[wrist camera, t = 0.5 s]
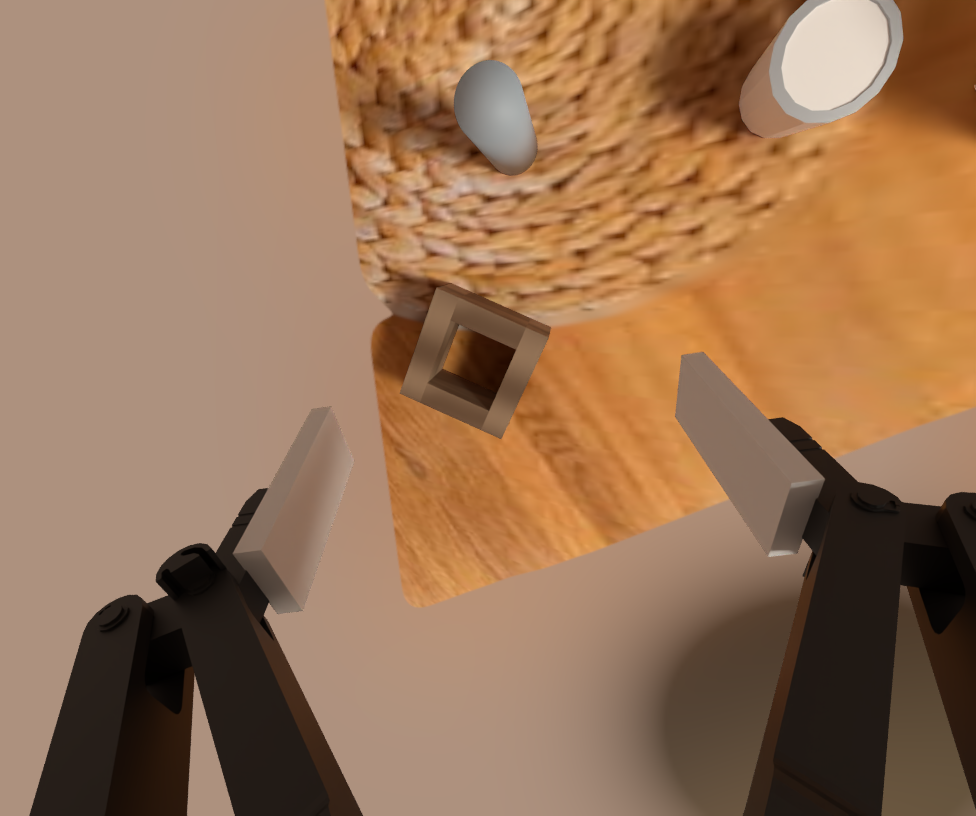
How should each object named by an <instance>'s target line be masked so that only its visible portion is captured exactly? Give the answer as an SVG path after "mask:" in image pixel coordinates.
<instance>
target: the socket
mask: <svg viewBox="0 0 976 816" xmlns="http://www.w3.org/2000/svg"><path fill="white" fill-rule="evenodd" d="M459 324H460V325H462V326H464V327H466V328H469V329H471V330H473V331H475V332H478V333H480V334H482V335H484V336H487V337H489V338H491V339H493V340H496V341H498V342H500V343H502V344H505V345H507V346H509V347H511V348H514V349H516V352H515V354H514V356H513V359H512V361H511V363H510V365H509V368H508V370H507V372H506V374H505V377H504V379H503V381H502V383H501V386H500V388H499V390H498V392H497V393H495V392H493V391H490V390H488V389H486V388H484V387H482V386H479V385H477V384H475V383H473V382H470V381H468V380H466V379H464V378H461V377H459V376H457V375H455V374H453V373H450V372H448V371H446V370H444V369H442V368H443V365H444V363H445V360H446V358H447V355H448V352H449V350H450V347H451V344H452V342H453V339H454V336H455V334H456V331H457V329H458V326H459ZM550 330H551V327H549V326H547V325H544V324H542V323H540V322H538V321H535V320H533V319H531V318H529V317H526V316H524V315H522V314H520V313H517V312H515V311H513V310H511V309H508V308H506V307H504V306H502V305H499V304H497V303H495V302H493V301H490V300H488V299H486V298H484V297H481V296H479V295H477V294H475V293H472V292H470V291H468V290H465V289H463V288H461V287H459V286H456V285H454V284H452V283H451V284H447V285H444V286H441V287H437V288H436V290H435V293H434V296H433V299H432V302H431V305H430V308H429V311H428V314H427V316H426V319H425V322H424V325H423V328H422V331H421V334H420V337H419V339H418V342H417V345H416V348H415V351H414V354H413V357H412V360H411V363H410V365H409V368H408V371H407V374H406V377H405V380H404V383H403V386H402V388H401V391H400V394H402V395H404V396H407V397H409V398H411V399H413V400H415V401H418V402H420V403H422V404H424V405H427V406H429V407H431V408H433V409H435V410H438V411H440V412H442V413H444V414H447V415H449V416H451V417H453V418H455V419H458V420H460V421H462V422H464V423H467V424H469V425H471V426H473V427H475V428H478V429H480V430H482V431H484V432H487V433H489V434H491V435H493V436H495V437H498V438H500V439H502V436H503V434H504V432H505V430H506V428H507V426H508V424H509V421H510V419H511V417H512V415H513V413H514V411H515V409H516V407H517V404H518V402H519V400H520V398H521V396H522V394H523V392H524V389H525V387H526V385H527V383H528V381H529V379H530V377H531V374H532V372H533V370H534V368H535V366H536V364H537V362H538V360H539V357H540V355H541V353H542V351H543V349H544V347H545V345H546V342H547V340H548V338H549V334H550Z"/></svg>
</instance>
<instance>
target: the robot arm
mask: <svg viewBox="0 0 976 816" xmlns="http://www.w3.org/2000/svg"><path fill="white" fill-rule="evenodd" d="M675 417H676V419H677V420H678V422H679V423H680V425H681V426H682V428H683V429H684V431H685V432H686V434H687V435H688V437H689V438H690V440H691V441H692V443H693V444H694V446H695V447H696V449H697V450H698V452H699V453H700V455H701V456H702V458H703V459H704V461H705V462H706V464H707V465H708V467H709V468H710V470H711V471H712V473H713V474H714V476H715V477H716V479H717V480H718V482H719V483H720V485H721V486H722V488H723V489H724V491H725V492H726V494H727V495H728V497H729V499H730V500H731V501H732V503H733V505H734V506H735V508H736V509H737V511H738V512H739V513H740V515H741V517H742V518H743V520H744V521H745V523H746V524H747V526H748V527H749V529H750V530H751V532H752V533H753V535H754V536H755V538H756V539H757V541H758V542H759V544H760V545H761V547H762V548H763V550H764V551H765V553H766V554H767V556H768V557H770V556H779V555H787V554H797V553H798V550H799V548H800V545H801V542H802V539H804V541H805V542H806V543H807V544H808V546H809V547H810V548H811V549H812V553H811V556H810V559H809V561H808V563H807V566H806V568H805V571H804V573H803V576H804V577H805V578H804V582H803V586H802V590H801V593H800V597H799V601H798V605H797V609H796V613H795V617H794V621H793V625H792V628H791V632H790V636H789V640H788V644H787V648H786V652H785V656H784V659H783V663H782V667H781V671H780V675H779V679H778V683H777V687H776V690H775V694H774V698H773V702H772V706H771V710H770V714H769V718H768V722H767V726H766V729H765V733H764V737H763V741H762V745H761V749H760V753H759V757H758V761H757V764H756V768H755V772H754V776H753V780H752V784H751V787H750V791H749V796H748V799H747V803H746V807H745V810H744V813H743V816H881V812H882V800H883V788H884V775H885V764H886V750H887V739H888V728H889V714H890V703H891V691H892V679H893V667H894V654H895V643H896V631H897V619H898V618H897V617H898V607H899V595H900V585H904V586H907V589H908V592H909V595H910V598H911V601H912V605H913V608H914V611H915V614H916V618H917V621H918V624H919V627H920V630H921V634H922V637H923V640H924V643H925V646H926V650H927V653H928V656H929V660H930V663H931V666H932V669H933V673H934V676H935V679H936V682H937V686H938V689H939V692H940V695H941V698H942V702H943V705H944V708H945V711H946V714H947V718H948V721H949V724H950V727H951V731H952V734H953V737H954V741H955V743H956V747H957V750H958V753H959V757H960V760H961V763H962V766H963V770H964V773H965V776H966V779H967V782H968V786H969V789H970V792H971V795H972V799H973V802H974V805H975V808H976V493H967V492H960V493H955V494H951V495H950V496H949V497H948V498H947V499H946V500H945V501H944V503H943V505H942V506H941V507H940V506H931V505H922V504H912V503H904V502H901V501H900V500H899V498H898V497H896V496H895V495H893V494H892V493H890V492H889V491H887V490H885V489H883V488H880V487H877V486H875V485H871V484H866V483H860V482H857V481H856V480H855V479H854V478H853V477H852V476H851V475H850V474H849V473H848V472H847V471H846V470H845V469H844V468H843V467H842V466H841V465H840V464H839V463H838V462H836V460H835V459H834V458H833V457H831V456H830V455H829V454H828V453H827V452H826V451H825V450H822V447H821V446H820V445H819V444H818V443H817V442H816V441H815V440H812V437H811V436H810V435H809V434H808V433H807V432H805V431H804V430H803V429H802V428H801V427H800V426H798V425H796V424H795V423H793V422H791V421H789V420H787V419H785V418H783V417H782V418H775V419H767V418H766V417H765V416H764V415H763V414H762V413H761V412H760V411H759V410H758V409H757V408H756V406H755V405H754V404H753V403H752V402H751V401H750V400H749V399H748V398H747V397H746V396H745V395H744V394H743V393H742V392H741V391H740V390H739V389H738V388H737V387H736V386H735V385H734V384H733V383H732V381H731V380H730V379H729V378H728V377H727V376H726V375H725V374H724V373H723V372H722V371H721V370H720V369H719V368H718V367H717V366H716V365H715V364H714V363H713V362H712V361H711V360H710V359H709V358H708V356H707V355H706V354H705V353H704V352H699V353H692V354H686V355H682V356H681V366H680V375H679V385H678V395H677V404H676V414H675ZM353 463H354V459H353V457H352V454H351V452H350V449H349V447H348V445H347V442H346V440H345V438H344V435H343V433H342V431H341V428H340V426H339V424H338V421H337V419H336V416H335V414H334V412H333V409H332V407H331V406H329V407H323V408H317V409H312V410H311V412H310V413H309V415H308V417H307V419H306V421H305V422H304V424H303V426H302V428H301V430H300V431H299V433H298V435H297V437H296V439H295V441H294V442H293V444H292V447H291V448H290V450H289V452H288V453H287V455H286V457H285V459H284V461H283V463H282V464H281V466H280V468H279V470H278V472H277V474H276V475H275V477H274V479H273V481H272V483H271V485H270V487H269V488H265V489H259V490H257V491H256V492H255V493H254V494H253V495H252V496H251V497H250V498H249V499H248V500H247V501H246V502H245V504H244V506H243V507H242V509H241V511H240V512H239V514H238V515H239V516H238V517H237V518H236V519H235V521H234V523H233V524H232V528H230V529H229V531H228V533H227V535H226V536H225V538H224V540H223V541H222V543H221V545H220V547H219V548H218V550H217V552H216V553H215V552H214V551H213V550H212V549H211V548H210V547H209V546H208V545H207V544H202V543H199V544H194V545H190V546H187V547H185V548H183V549H181V550H179V551H178V552H176V553H175V554H173V555H172V556H171V557H169V558H168V559H167V560H166V561H165V562H164V563H163V564H162V565H161V567H160V569H159V571H158V572H157V574H156V582H157V583H158V585H159V586H160V587H161V588H162V589H163V590H164V591H165V592H166V593H167V594H168V596H165V597H163V598H160V599H158V600H155V601H152V602H150V603H146V602H145V601H144V600H143V599H142V598H141V597H139V596H138V595H127V596H124V597H121V598H118V599H116V600H114V601H113V602H111V603H109V604H107V605H106V606H105V607H103V608H102V609H101V610H100V611H98V612H97V613H96V614H95V615H94V617H93V618H92V619H91V620H90V621H89V622H88V624H87V626H86V628H85V630H84V632H83V635H82V639H81V642H80V645H79V649H78V652H77V655H76V659H75V662H74V666H73V669H72V673H71V676H70V679H69V683H68V686H67V690H66V693H65V696H64V700H63V703H62V707H61V710H60V714H59V717H58V720H57V724H56V727H55V730H54V734H53V737H52V741H51V744H50V748H49V751H48V754H47V758H46V761H45V764H44V768H43V771H42V775H41V778H40V782H39V785H38V788H37V792H36V795H35V798H34V802H33V805H32V809H31V812H30V816H187V803H188V802H187V801H188V782H189V766H190V765H189V764H190V746H191V728H192V709H193V692H194V673H195V677H196V680H197V684H198V687H199V691H200V694H201V698H202V701H203V705H204V708H205V712H206V716H207V719H208V723H209V726H210V730H211V733H212V736H213V740H214V744H215V747H216V751H217V754H218V758H219V761H220V765H221V768H222V772H223V775H224V779H225V782H226V786H227V789H228V793H229V796H230V800H231V803H232V807H233V811H234V814H235V816H363V815H362V813H361V811H360V808H359V807H358V804H357V802H356V800H355V798H354V796H353V794H352V792H351V790H350V788H349V786H348V784H347V782H346V780H345V778H344V776H343V774H342V772H341V770H340V767H339V765H338V763H337V761H336V759H335V757H334V755H333V753H332V751H331V749H330V747H329V745H328V743H327V741H326V739H325V737H324V735H323V733H322V731H321V729H320V727H319V725H318V722H317V720H316V718H315V716H314V714H313V712H312V710H311V708H310V706H309V704H308V702H307V701H306V698H305V696H304V694H303V692H302V690H301V688H300V686H299V684H298V682H297V680H296V678H295V676H294V673H293V672H292V669H291V667H290V665H289V663H288V661H287V659H286V657H285V655H284V653H283V651H282V649H281V647H280V645H279V643H278V641H277V639H276V637H275V634H274V632H273V630H272V628H271V626H270V624H269V622H268V621H267V619H266V618H265V617H264V613H265V610H266V608H267V605H268V603H270V605H271V606H272V607H273V609H274V610H275V611H276V612H277V614H281V613H290V612H299V611H303V609H304V606H305V603H306V600H307V597H308V594H309V591H310V588H311V585H312V583H313V580H314V577H315V574H316V571H317V568H318V565H319V562H320V559H321V556H322V553H323V551H324V548H325V545H326V541H327V539H328V536H329V533H330V530H331V527H332V524H333V521H334V519H335V516H336V513H337V510H338V507H339V504H340V501H341V498H342V495H343V492H344V489H345V487H346V484H347V481H348V478H349V475H350V472H351V469H352V466H353Z"/></svg>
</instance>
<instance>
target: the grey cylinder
mask: <svg viewBox="0 0 976 816" xmlns="http://www.w3.org/2000/svg"><path fill="white" fill-rule="evenodd" d="M454 111H455V116H456V119H457V122H458V124H459V126H460V128H461V129H462V131H463V132H464V133H465V134H466V135H467V136H468V138H469V139H470V140H471V141H472V142H473V143H474V144H475V145H476V147H477V148H478V149H479V150H480V151H481V152H482V153H483V154H484V155H485V157H486V158H487V159H488V160H489V161H490V162H491V163H492V164H493V166H494V167H495V168H496V169H497V170H498V171H500V172H501V173H503V174H506V175H518V174H521V173H523V172H525V171H526V170H527V169H528V168H529V167H530V166H531V165H532V163H533V162H534V160H535V157H536V154H537V147H538V146H537V138H536V135H535V131H534V128H533V124H532V121H531V117H530V114H529V110H528V107H527V103H526V100H525V96H524V93H523V89H522V86H521V83H520V80H519V79H518V77H517V75H516V74H515V72H514V71H513V70H512V69H511V68H510V67H508V66H507V65H506V64H504V63H502V62H499V61H494V60H486V61H482V62H479V63H477V64H475V65H473V66H472V67H470V68H469V69H468V70H467V71H466V72H465V73H464V75H463V76H462V77H461V79H460V81H459V83H458V85H457V88H456V91H455V96H454Z"/></svg>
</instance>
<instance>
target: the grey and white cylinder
mask: <svg viewBox="0 0 976 816" xmlns="http://www.w3.org/2000/svg"><path fill="white" fill-rule="evenodd" d="M902 42H903V29H902V19H901V12H900V10H899V9H898V7H897V5H896V4H895V2H894V1H893V0H807V1H806V2H805V3H804V4H803V5H802V6H801V7H800V8H798V9H797V10H796V11H795V12H794V13H793V14H792V15H791V16H790V17H789V18H788V20H787V21H786V23H785V24H784V25H783V27H782V28H781V29H780V31H779V32H778V34H777V35H776V36H775V38H774V39H773V40H772V42H771V43H770V45H769V46H768V47H767V49H766V50H765V51H764V53H763V54H762V56H761V57H760V58H759V60H758V61H757V62H756V64H755V65H754V67H753V68H752V69H751V71H750V73H749V75H748V77H747V78H746V80H745V82H744V84H743V86H742V89H741V95H740V100H739V108H740V113H741V118H742V121H743V122H744V123H745V125H746V126H747V128H748V129H749V130H750V132H752V133H754V134H756V135H759V136H761V137H763V138H781V137H784V136H788V135H791V134H794V133H797V132H801V131H804V130H807V129H811V128H814V127H817V126H821V125H824V124H827V123H830V122H833V121H835V120H838V119H840V118H843V117H845V116H848V115H850V114H853V113H855V112H856V111H858V110H859V109H860V108H861V107H862V106H864V105H865V104H866V103H867V102H868V101H870V100H871V99H872V98H873V97H874V96H876V95H877V94H878V93H879V91H880V90H881V88H882V87H883V85H884V84H885V82H886V81H887V79H888V78H889V76H890V75H891V73H892V72H893V70H894V69H895V67H896V63H897V60H898V56H899V53H900V49H901V46H902Z"/></svg>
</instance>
